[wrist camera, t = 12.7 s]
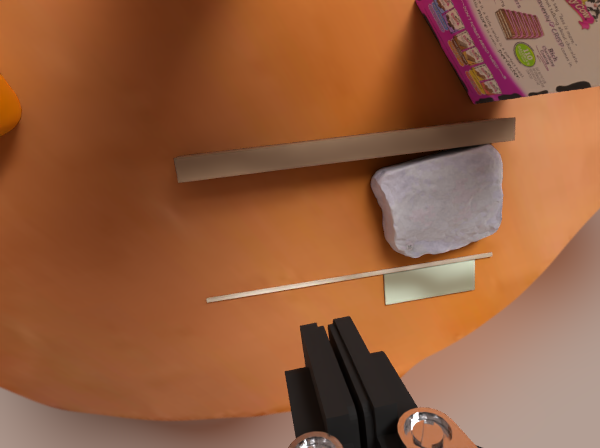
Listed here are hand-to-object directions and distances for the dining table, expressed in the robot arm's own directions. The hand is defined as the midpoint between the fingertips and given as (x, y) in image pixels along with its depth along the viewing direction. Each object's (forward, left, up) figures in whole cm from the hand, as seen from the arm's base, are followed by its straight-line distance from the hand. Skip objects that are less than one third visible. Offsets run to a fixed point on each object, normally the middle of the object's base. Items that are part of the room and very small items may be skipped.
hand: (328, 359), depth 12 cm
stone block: (+1, +16, -25) cm, 30 cm away
